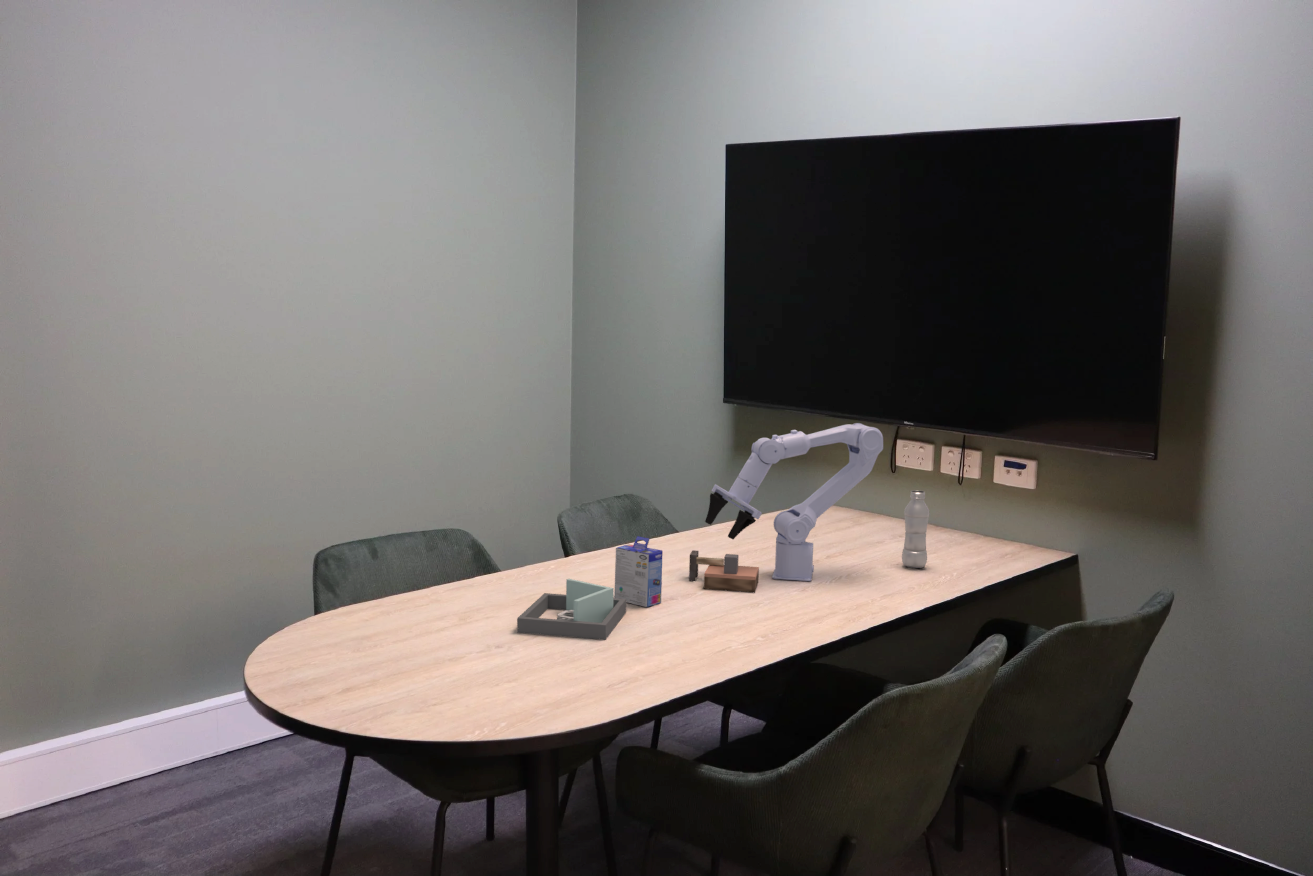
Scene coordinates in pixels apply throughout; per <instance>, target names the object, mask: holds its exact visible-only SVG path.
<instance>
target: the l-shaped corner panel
mask: <svg viewBox="0 0 1313 876" xmlns="http://www.w3.org/2000/svg"><path fill="white" fill-rule="evenodd" d="M565 583H566V585H565V586H566V587H565V588H566V591H565V593H566V594H565V595H566V610H564V611H561V612H560V613H557V615H556V616H557V617H556V619H558V620H571V621H583V622H596V623H602V622H603V620H604V619H605V618H606V617H607V615H608V614H609V613H610V612H611V610H612V609H613V598H614V590H615V587H611V586H605V585H600V584H595V583H591V582H587V581H583V580H582V581H581V580H576V579H572V578H567V579H566V581H565Z"/></svg>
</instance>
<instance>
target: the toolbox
mask: <svg viewBox="0 0 1313 876" xmlns="http://www.w3.org/2000/svg"><path fill="white" fill-rule="evenodd" d="M699 553H700V552H699V550H691V551H690V554H689V562H688V563H689V566H688V567H689V570H688V573H689V575H688V581H689V582H693V581H695V582H696V581H697V579H698V577H699V564H696V557H699ZM759 574H760V570H759V571H758V574H757V577H756V580H746V579H731V578H717V577H703V590H713V591H725V590H727V591H726V592H739V591H741V592H742V593H753V592H754V593H756V590H757V588H758V586H759V585H758V584H759V581H760V580H759V578H760V577H759ZM741 592H740V593H741ZM754 593H753V594H754Z"/></svg>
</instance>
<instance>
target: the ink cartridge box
mask: <svg viewBox="0 0 1313 876" xmlns="http://www.w3.org/2000/svg"><path fill="white" fill-rule="evenodd" d="M639 541H643V542H645V544H644V543H640V542H639ZM649 542H650V538H648V537H642V536H638V535H636V538H635V540H634V543H633V544H623V545H621V546H617V547H615V564H614V565H615V566H614V592H613V598H618V599H626V603H628V604H632V605H636V606H640V607H641V606H642V607H645V608H648V607H651V606H655V605H659V604H661V603H662V589H663V588H662V586H663V585H662V584H663V583H662V582H663V581H662V579H663V555H664V554H663V550H662V549H658V548H657V549H656V548H651V547H648V546H649Z"/></svg>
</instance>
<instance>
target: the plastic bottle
mask: <svg viewBox="0 0 1313 876" xmlns="http://www.w3.org/2000/svg"><path fill="white" fill-rule="evenodd" d="M909 498H910V500H909V502H908V503H907V505H905V508H904V510H903V515H904V525H905V528H904V529H905V530H904V531H905V533H904V541H903V542H904V543H903V549H902V552H901V562H902V564H903V566H905V567H907V568H912V569H919V568H920V569H921V568H924V567H925V566H926V565H927V563H928V562H927V560H928V554H927V553H928V552H927V538H926V537H927V531H928V525H929V524H928V523H929V520H930V509H929V507H928V505H927V504H926V501H925V499H926V491H925V490H916V489H913V490H910V496H909Z"/></svg>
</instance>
